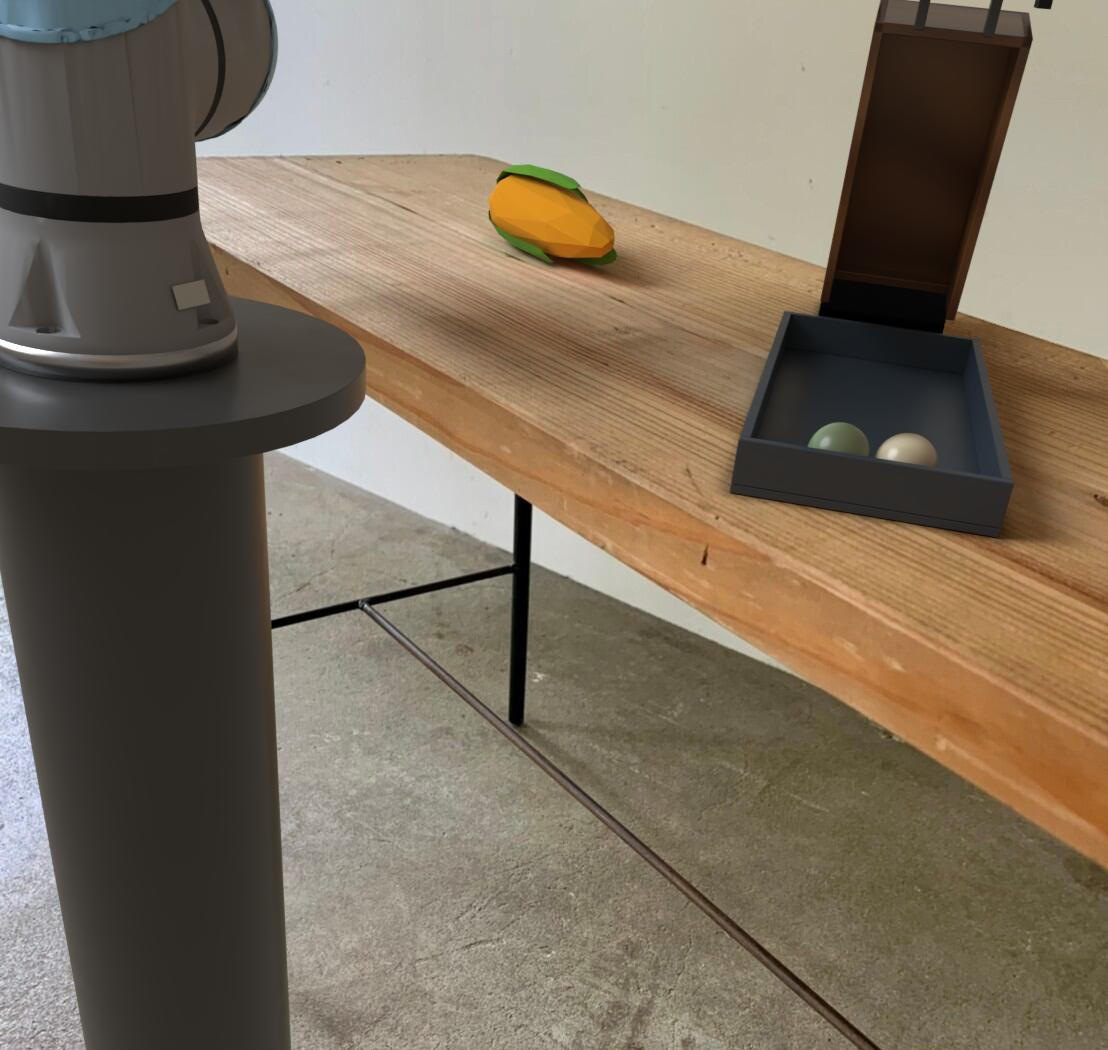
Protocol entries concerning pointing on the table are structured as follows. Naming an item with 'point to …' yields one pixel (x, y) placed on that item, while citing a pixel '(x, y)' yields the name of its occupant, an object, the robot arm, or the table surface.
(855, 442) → the ball sage
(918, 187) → the brown wooden tipping box
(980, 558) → the table surface
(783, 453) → the tray
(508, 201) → the corn
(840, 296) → the stand
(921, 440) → the ball ivory
